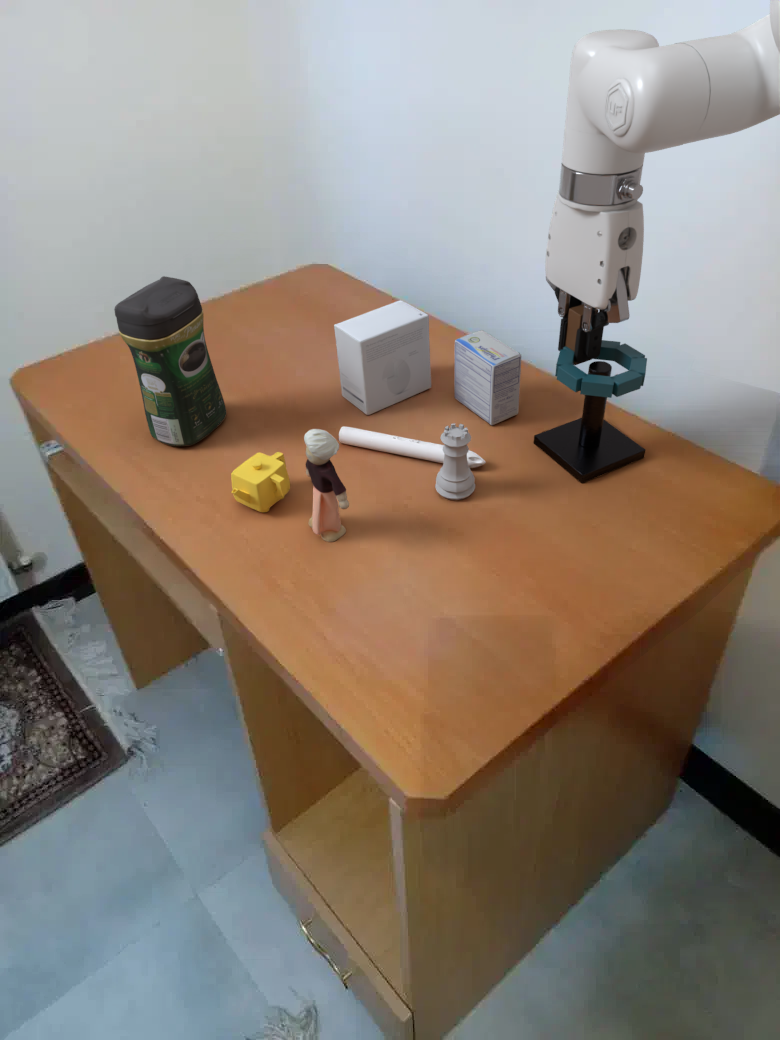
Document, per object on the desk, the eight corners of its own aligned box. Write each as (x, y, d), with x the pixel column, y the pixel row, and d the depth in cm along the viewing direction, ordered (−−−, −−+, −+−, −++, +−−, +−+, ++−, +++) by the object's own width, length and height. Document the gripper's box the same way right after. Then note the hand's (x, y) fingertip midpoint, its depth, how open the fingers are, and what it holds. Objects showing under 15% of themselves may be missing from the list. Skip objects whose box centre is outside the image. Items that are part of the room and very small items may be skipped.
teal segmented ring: (662, 380, 84) (673, 329, 80) (593, 406, 81) (601, 353, 77) (604, 344, 90) (611, 294, 86) (538, 366, 87) (542, 316, 83)
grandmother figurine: (292, 523, 85) (276, 425, 77) (319, 506, 87) (306, 409, 79) (340, 557, 81) (329, 457, 72) (367, 538, 83) (359, 438, 74)
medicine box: (519, 415, 98) (523, 353, 93) (490, 427, 97) (493, 365, 91) (480, 388, 104) (483, 328, 98) (453, 399, 102) (453, 338, 96)
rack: (644, 458, 91) (662, 373, 83) (581, 483, 88) (594, 397, 80) (593, 420, 97) (605, 338, 90) (533, 443, 94) (541, 360, 87)
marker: (488, 464, 91) (489, 448, 90) (483, 475, 90) (483, 458, 88) (346, 436, 97) (344, 420, 95) (339, 446, 95) (337, 430, 94)
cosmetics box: (403, 369, 108) (400, 297, 101) (432, 388, 104) (431, 315, 97) (339, 395, 104) (331, 322, 97) (366, 416, 100) (361, 342, 93)
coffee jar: (189, 401, 104) (155, 265, 92) (237, 415, 101) (209, 277, 89) (139, 440, 98) (95, 300, 86) (189, 456, 95) (151, 313, 83)
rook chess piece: (476, 501, 86) (478, 441, 81) (435, 502, 87) (435, 443, 81) (474, 476, 90) (475, 417, 84) (434, 477, 90) (434, 418, 85)
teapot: (262, 531, 84) (254, 494, 81) (223, 512, 87) (214, 475, 83) (309, 491, 89) (304, 454, 86) (271, 474, 92) (264, 438, 88)
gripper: (689, 198, 71) (654, 375, 84) (578, 154, 82) (561, 317, 94) (625, 215, 69) (598, 396, 81) (518, 168, 80) (509, 334, 92)
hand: (578, 352), depth 88 cm, fingers closed on teal segmented ring
